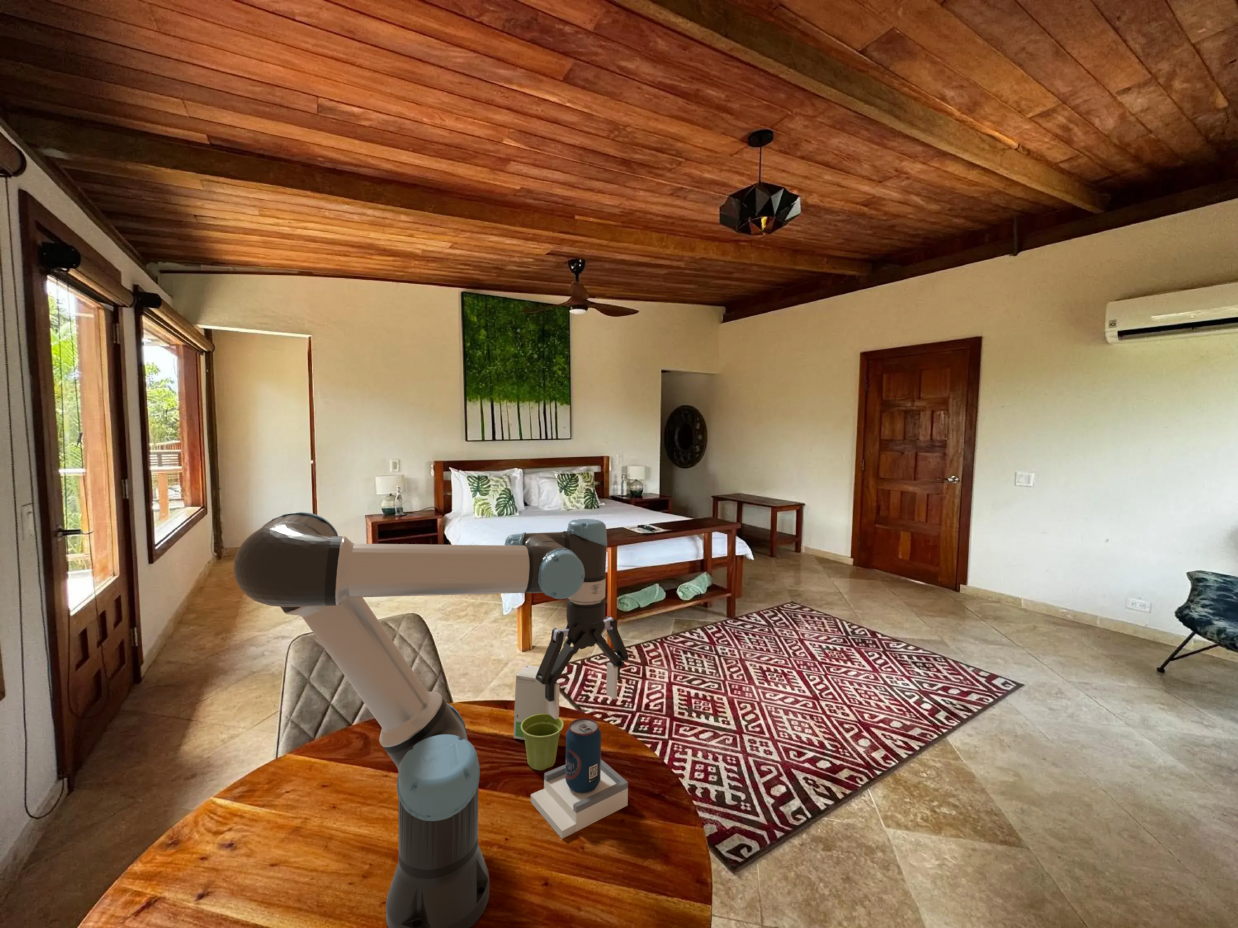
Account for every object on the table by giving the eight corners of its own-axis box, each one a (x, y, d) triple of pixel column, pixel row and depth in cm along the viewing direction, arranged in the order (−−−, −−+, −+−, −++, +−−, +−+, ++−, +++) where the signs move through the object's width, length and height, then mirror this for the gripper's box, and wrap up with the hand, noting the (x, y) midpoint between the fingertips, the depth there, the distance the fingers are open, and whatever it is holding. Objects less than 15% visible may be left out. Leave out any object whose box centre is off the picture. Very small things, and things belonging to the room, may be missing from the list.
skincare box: (512, 738, 127) (513, 675, 126) (523, 724, 133) (524, 663, 132) (545, 743, 125) (546, 679, 124) (555, 729, 131) (556, 667, 130)
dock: (561, 838, 95) (562, 813, 95) (530, 801, 105) (530, 778, 105) (627, 805, 104) (628, 782, 104) (593, 773, 114) (593, 752, 114)
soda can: (558, 782, 106) (559, 723, 105) (587, 769, 110) (587, 712, 109) (578, 801, 100) (579, 739, 100) (607, 786, 104) (608, 727, 104)
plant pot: (566, 751, 122) (567, 714, 121) (558, 777, 113) (558, 737, 112) (527, 748, 123) (527, 711, 122) (515, 773, 113) (515, 734, 113)
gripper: (538, 616, 93) (536, 734, 94) (647, 593, 108) (644, 695, 109) (518, 604, 99) (517, 715, 100) (624, 585, 114) (622, 682, 115)
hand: (583, 705), depth 104 cm, fingers open, 13 cm apart
